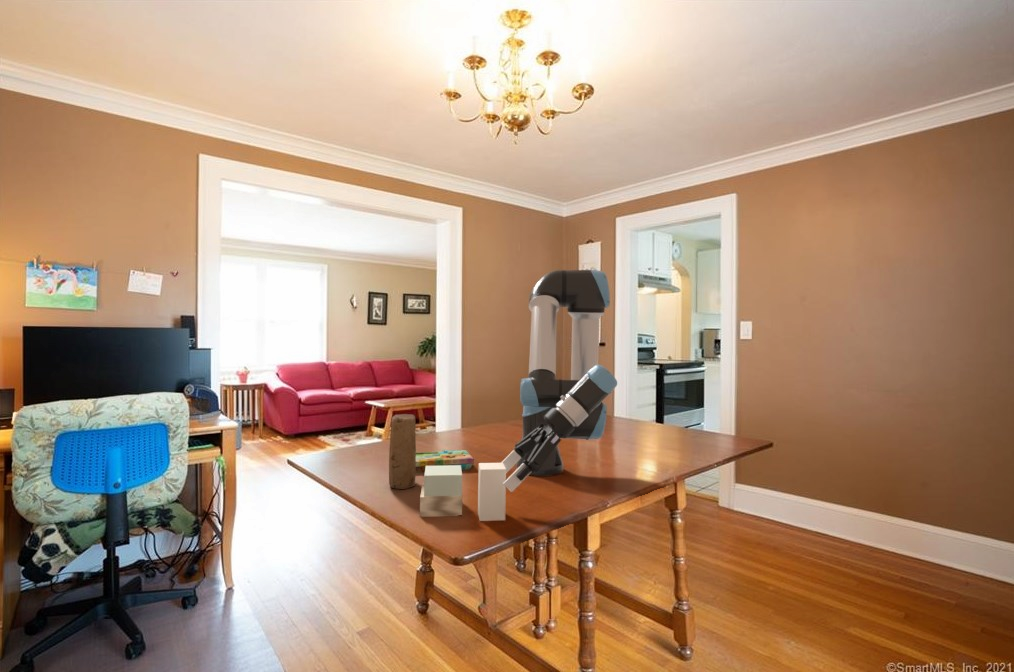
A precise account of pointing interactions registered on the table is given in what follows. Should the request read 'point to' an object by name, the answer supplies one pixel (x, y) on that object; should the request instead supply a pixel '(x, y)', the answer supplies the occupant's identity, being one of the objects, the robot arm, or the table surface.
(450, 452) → the puzzle game
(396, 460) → the block
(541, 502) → the table surface
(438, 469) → the tower top
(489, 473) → the cream block
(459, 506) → the tower base
